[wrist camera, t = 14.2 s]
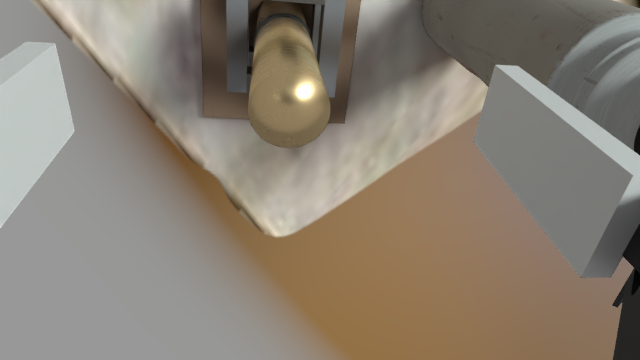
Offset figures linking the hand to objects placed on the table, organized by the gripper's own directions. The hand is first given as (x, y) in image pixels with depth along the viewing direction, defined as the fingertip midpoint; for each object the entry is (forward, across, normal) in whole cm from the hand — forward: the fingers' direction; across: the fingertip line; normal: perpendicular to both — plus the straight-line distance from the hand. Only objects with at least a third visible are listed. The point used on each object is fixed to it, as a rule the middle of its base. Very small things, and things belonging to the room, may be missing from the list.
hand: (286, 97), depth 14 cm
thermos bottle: (+31, +18, -3) cm, 36 cm away
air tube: (+29, +1, -4) cm, 30 cm away
